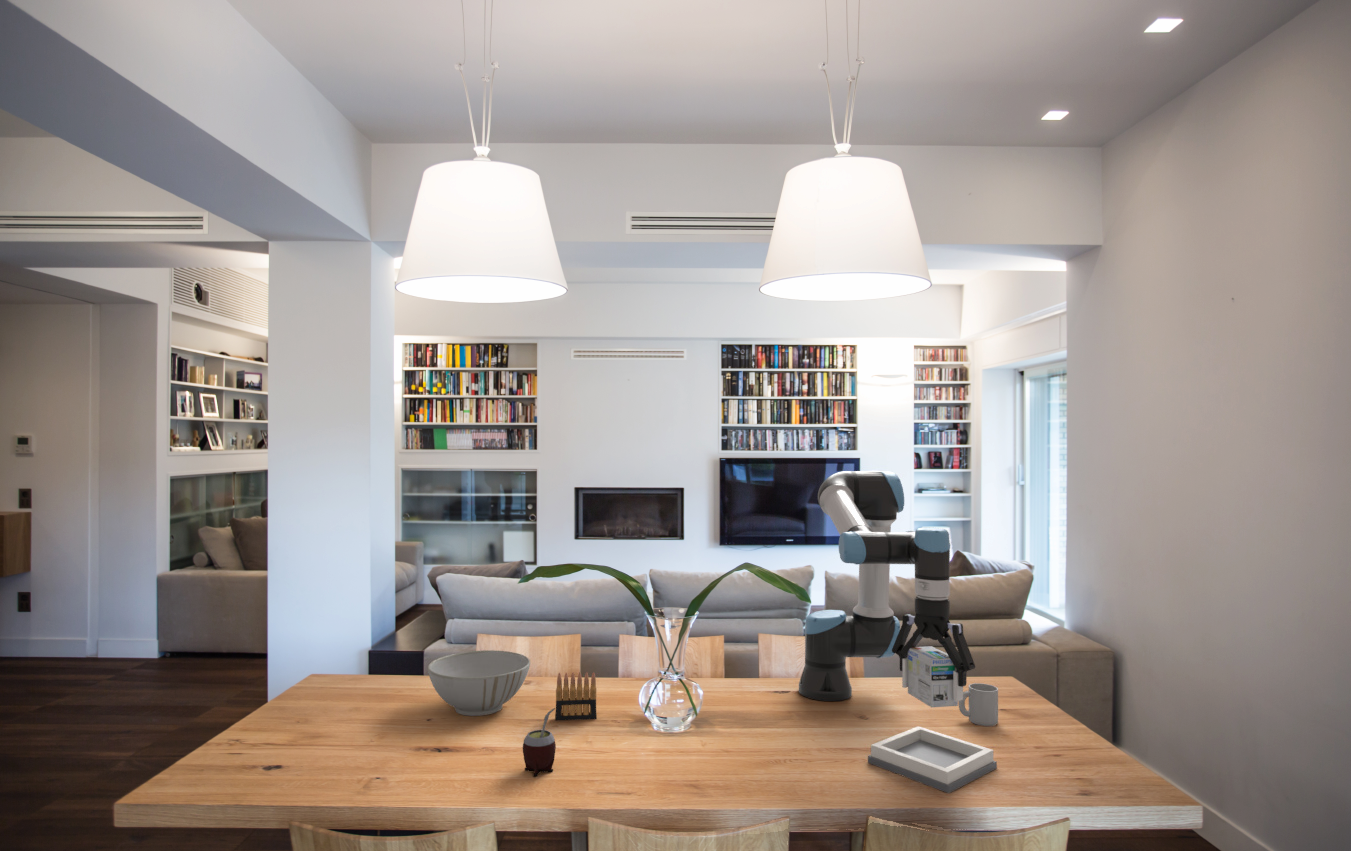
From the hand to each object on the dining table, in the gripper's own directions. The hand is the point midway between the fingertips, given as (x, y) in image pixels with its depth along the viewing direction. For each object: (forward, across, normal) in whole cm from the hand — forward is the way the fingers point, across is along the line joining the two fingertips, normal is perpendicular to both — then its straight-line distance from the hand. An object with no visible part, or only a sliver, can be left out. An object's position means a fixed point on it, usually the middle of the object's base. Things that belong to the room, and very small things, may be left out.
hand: (931, 693), depth 175 cm
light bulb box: (+2, 0, 0) cm, 2 cm away
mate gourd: (+16, -52, -70) cm, 89 cm away
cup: (+16, -8, +35) cm, 39 cm away
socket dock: (+16, 0, 0) cm, 16 cm away
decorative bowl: (+16, -98, -62) cm, 117 cm away
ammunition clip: (+16, -75, -46) cm, 90 cm away
